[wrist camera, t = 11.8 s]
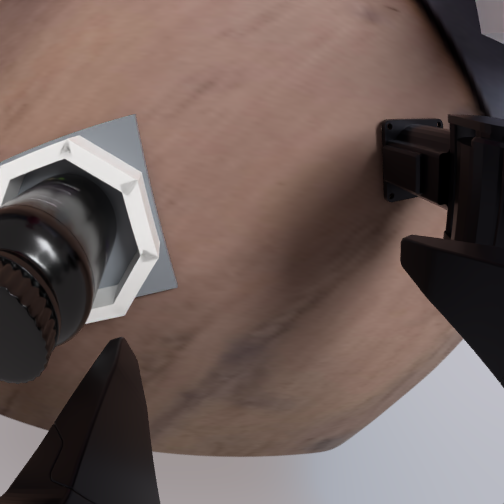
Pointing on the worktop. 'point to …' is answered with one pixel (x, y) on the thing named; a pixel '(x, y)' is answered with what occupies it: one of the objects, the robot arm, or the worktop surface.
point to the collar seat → (121, 197)
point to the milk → (491, 18)
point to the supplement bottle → (50, 268)
